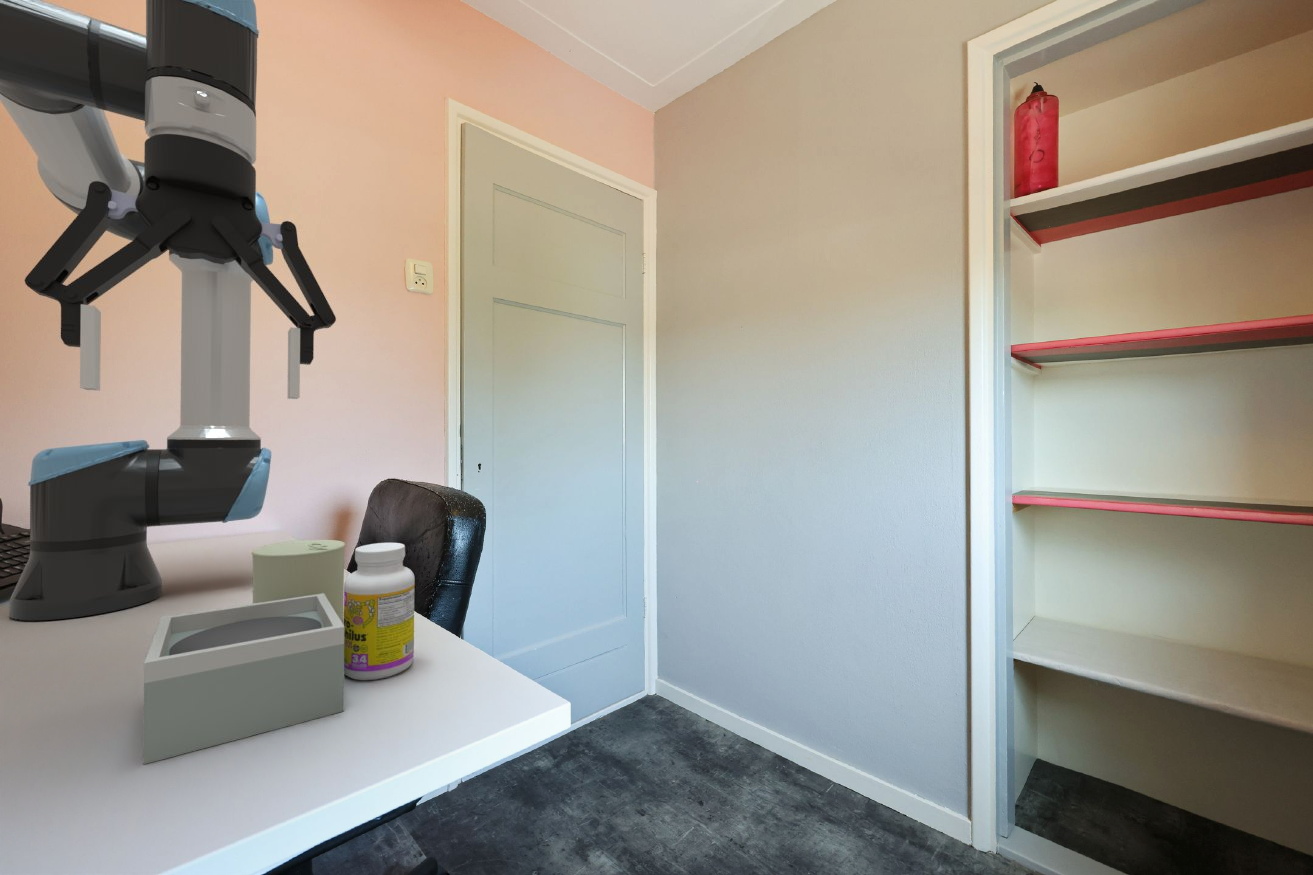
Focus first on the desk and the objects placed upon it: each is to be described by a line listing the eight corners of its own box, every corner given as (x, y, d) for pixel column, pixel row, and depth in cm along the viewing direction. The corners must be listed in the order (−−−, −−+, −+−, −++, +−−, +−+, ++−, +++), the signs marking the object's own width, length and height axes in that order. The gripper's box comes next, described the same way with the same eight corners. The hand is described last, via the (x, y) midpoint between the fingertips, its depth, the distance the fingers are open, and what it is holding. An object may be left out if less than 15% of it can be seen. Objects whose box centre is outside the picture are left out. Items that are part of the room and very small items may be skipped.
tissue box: (160, 697, 51) (161, 616, 51) (323, 662, 59) (323, 593, 59) (143, 764, 40) (144, 662, 40) (343, 711, 48) (344, 626, 48)
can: (299, 665, 58) (300, 552, 58) (228, 657, 60) (229, 548, 60) (362, 634, 67) (363, 537, 67) (299, 628, 69) (300, 534, 69)
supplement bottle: (333, 668, 57) (334, 546, 57) (398, 651, 62) (399, 538, 62) (356, 689, 53) (357, 556, 53) (424, 668, 57) (425, 546, 58)
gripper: (-36, 70, 37) (-40, 380, 37) (369, 179, 53) (367, 399, 53) (0, 120, 43) (-3, 387, 43) (355, 205, 59) (353, 402, 59)
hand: (200, 394), depth 48 cm, fingers open, 13 cm apart
